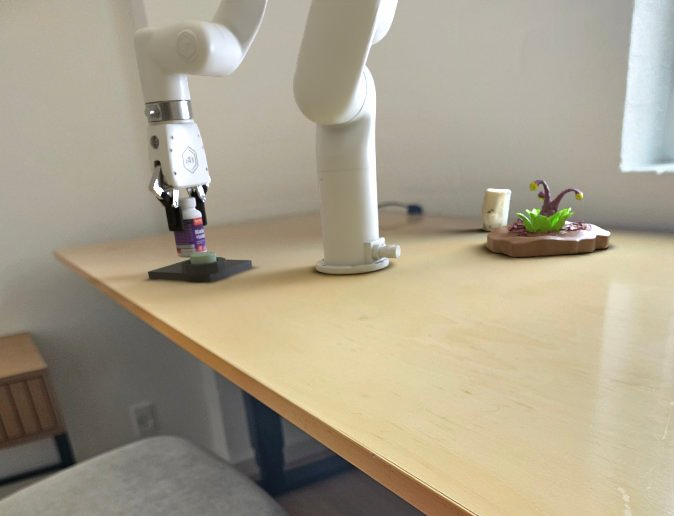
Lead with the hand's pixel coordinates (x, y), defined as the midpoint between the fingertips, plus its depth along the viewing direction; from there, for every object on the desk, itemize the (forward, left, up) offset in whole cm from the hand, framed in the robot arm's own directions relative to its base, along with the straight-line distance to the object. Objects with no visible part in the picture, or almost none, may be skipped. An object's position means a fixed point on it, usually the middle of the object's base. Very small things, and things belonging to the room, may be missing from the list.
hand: (188, 227), depth 117 cm
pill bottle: (0, 0, -5) cm, 5 cm away
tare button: (-7, +5, -5) cm, 10 cm away
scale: (-3, +2, -8) cm, 8 cm away
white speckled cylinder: (-42, -47, -8) cm, 64 cm away
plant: (-56, -29, -8) cm, 64 cm away
